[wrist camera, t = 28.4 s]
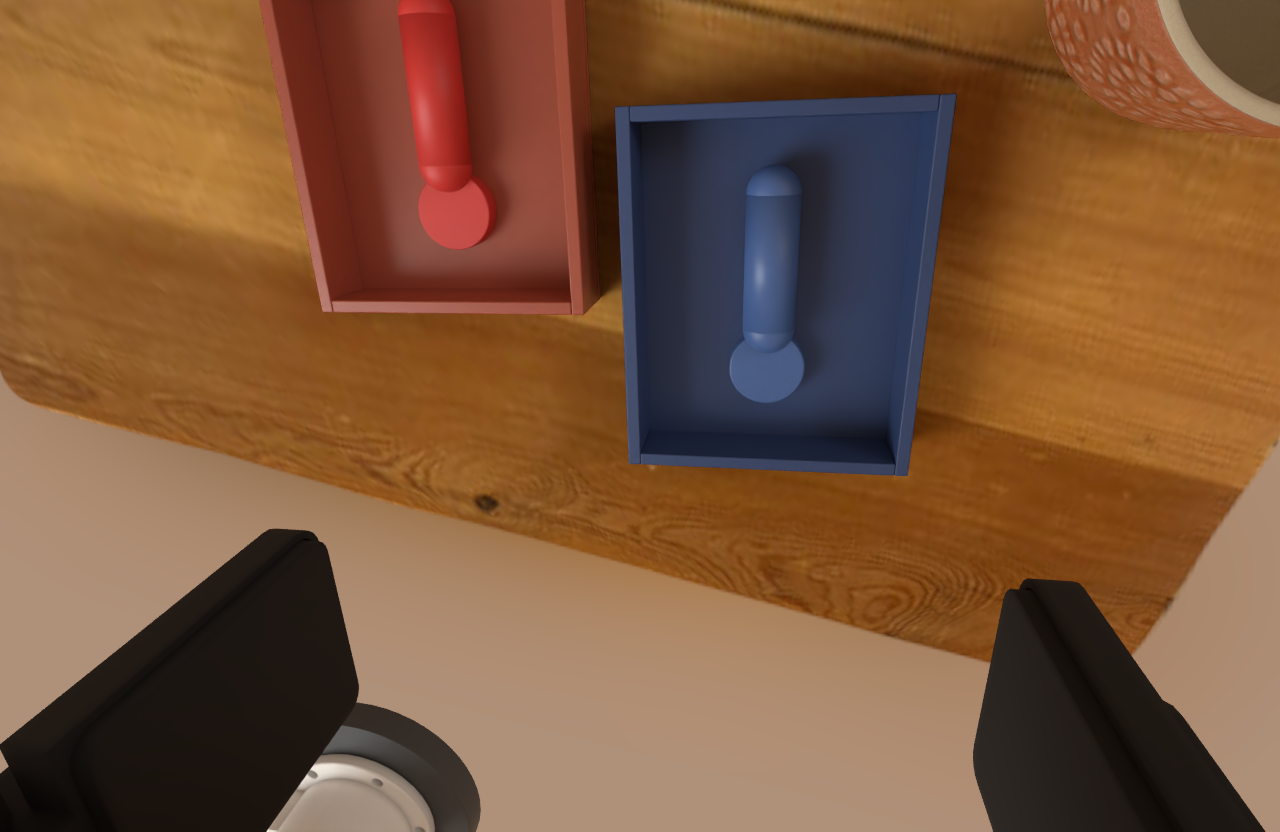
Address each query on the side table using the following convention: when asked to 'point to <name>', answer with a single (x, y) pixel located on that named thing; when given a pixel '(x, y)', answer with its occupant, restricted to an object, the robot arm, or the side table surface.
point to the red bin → (389, 170)
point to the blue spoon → (770, 289)
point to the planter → (1176, 60)
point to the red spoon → (442, 127)
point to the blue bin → (826, 283)
